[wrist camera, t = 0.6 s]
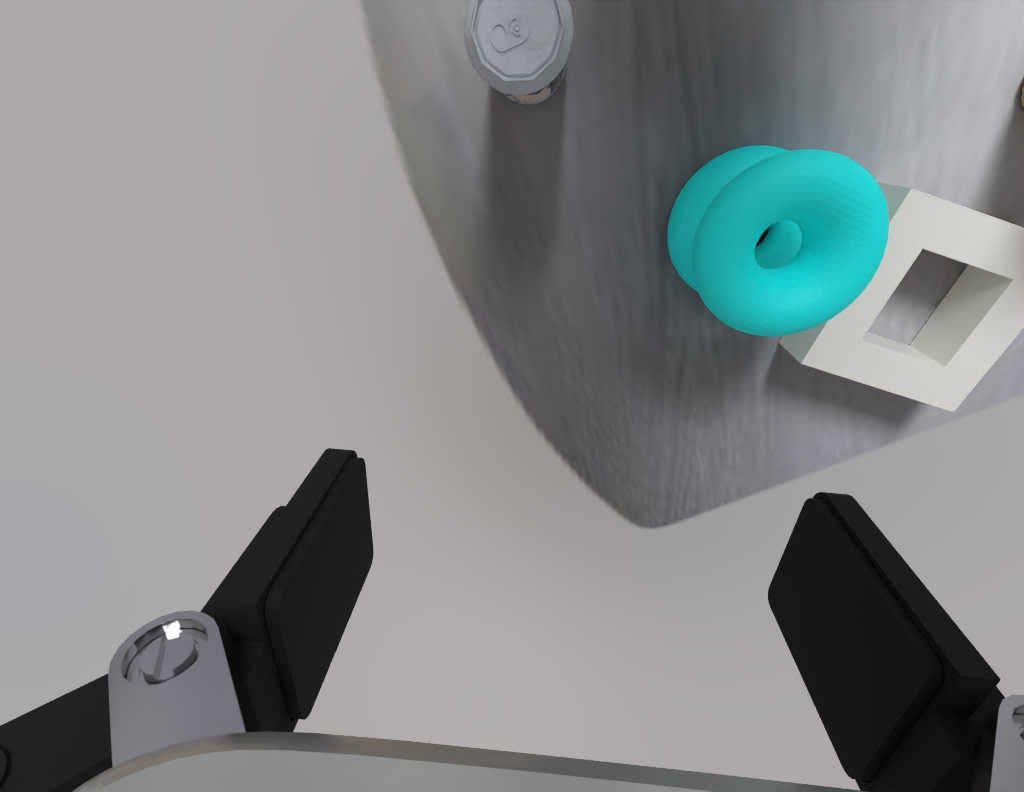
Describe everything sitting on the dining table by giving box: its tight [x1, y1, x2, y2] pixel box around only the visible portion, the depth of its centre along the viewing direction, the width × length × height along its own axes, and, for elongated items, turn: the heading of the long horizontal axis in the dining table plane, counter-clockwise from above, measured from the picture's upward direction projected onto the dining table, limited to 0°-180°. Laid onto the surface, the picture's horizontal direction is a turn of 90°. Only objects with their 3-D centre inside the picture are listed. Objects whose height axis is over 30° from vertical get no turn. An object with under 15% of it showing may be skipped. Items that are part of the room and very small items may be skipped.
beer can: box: [465, 0, 574, 105], centre depth 27 cm, size 5×5×12 cm
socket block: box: [779, 183, 1024, 412], centre depth 35 cm, size 12×12×4 cm
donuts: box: [667, 145, 889, 337], centre depth 31 cm, size 10×10×10 cm
